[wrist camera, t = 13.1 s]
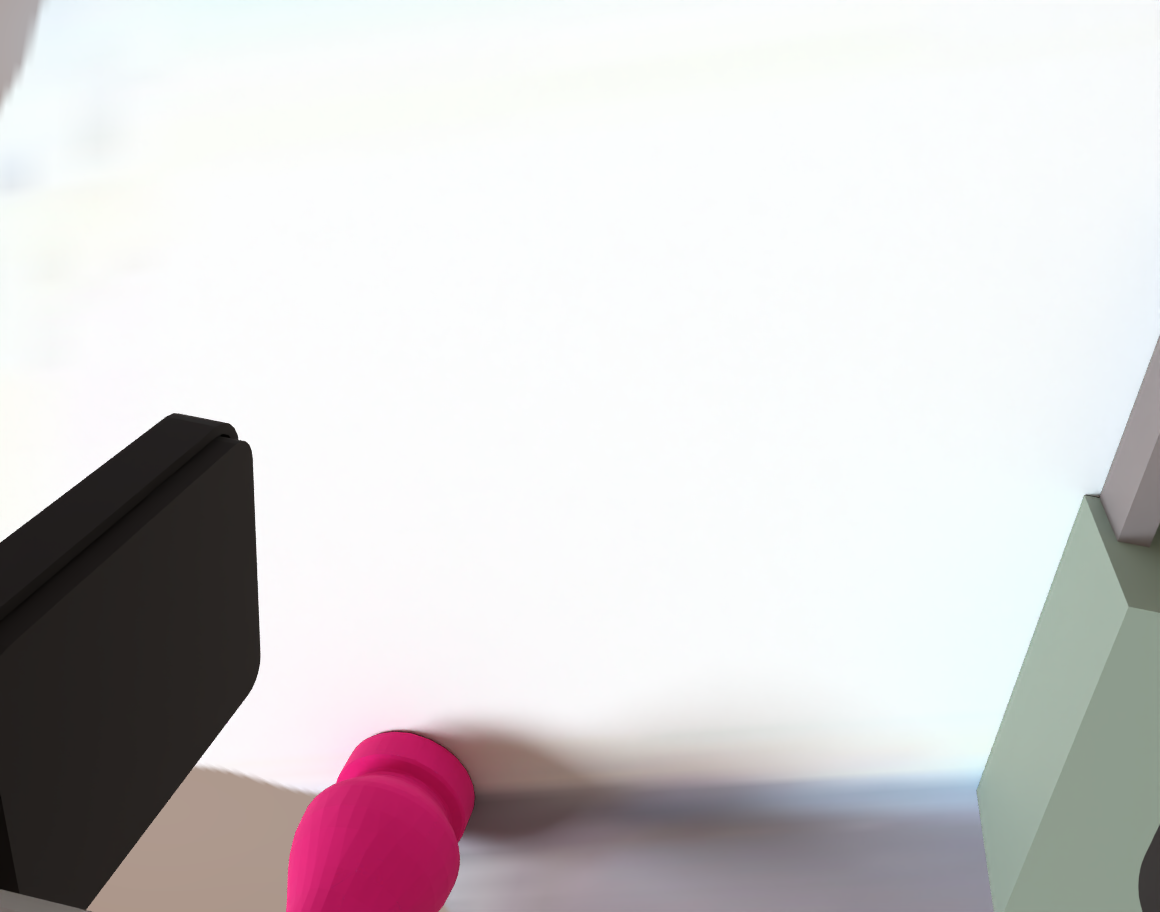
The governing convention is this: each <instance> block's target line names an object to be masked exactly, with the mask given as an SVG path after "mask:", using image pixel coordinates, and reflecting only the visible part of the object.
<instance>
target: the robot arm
mask: <svg viewBox="0 0 1160 912" xmlns="http://www.w3.org/2000/svg"><path fill="white" fill-rule="evenodd" d="M259 666H260V632H259V607H258V581H257V556H256V531H255V506H254V480H253V457H252V450H251V448H250V446H249V444H248V443H247V442H246V441H241V440H238V435H237V433H236V431H235V428H234V427H233V426H232V425H230V424H229V423H224V422H219V421H214V420H209V419H204V418H199V417H194V416H189V415H183V414H176V413H173V414H171V415H169V416H167V417H165V418H164V419H163V420H161V421H160V422H159V423H157V424H156V425H155V426H153V427H152V428H151V429H150V430H148V431H147V432H146V433H144V434H143V435H142V436H140V437H139V438H138V439H136V440H135V441H134V442H132V443H131V444H130V445H128V446H127V447H126V448H124V449H123V450H122V451H120V452H119V453H118V454H117V455H115V456H114V457H113V458H111V459H110V460H109V461H107V462H106V463H105V464H103V465H102V466H101V467H99V468H98V469H97V470H95V471H94V472H93V473H91V474H90V475H89V476H88V477H86V478H85V479H84V480H82V481H81V482H80V483H78V484H77V485H76V486H74V487H73V488H72V489H70V490H69V491H68V492H66V493H65V494H64V495H62V496H61V497H60V498H59V499H57V500H56V501H55V502H53V503H52V504H51V505H49V506H48V507H47V508H45V509H44V510H43V511H41V512H40V513H39V514H37V515H36V516H35V517H33V518H32V519H31V520H30V521H28V522H27V523H26V524H24V525H23V526H22V527H20V528H19V529H18V530H16V531H15V532H14V533H12V534H11V535H10V536H8V537H7V538H6V539H4V540H3V541H2V542H1V543H0V912H91V911H87V910H86V909H87V908H88V906H89V905H90V904H91V902H92V901H93V900H94V898H95V897H96V896H97V894H98V893H99V892H100V890H101V889H102V888H103V886H104V885H105V884H106V882H107V881H108V880H109V879H110V877H111V876H112V874H113V873H114V872H115V871H116V869H117V868H118V867H119V865H120V864H121V863H122V861H123V860H124V859H125V857H126V856H127V854H128V853H129V852H130V851H131V849H132V848H133V847H134V845H135V844H136V843H137V841H138V840H139V839H140V837H141V836H142V835H143V833H144V832H145V830H146V829H147V828H148V827H149V825H150V824H151V823H152V821H153V820H154V819H155V818H156V816H157V815H158V814H159V812H160V811H161V809H162V808H163V807H164V806H165V804H166V803H167V802H168V800H169V799H170V798H171V796H172V795H173V793H174V792H175V791H176V790H177V788H178V787H179V786H180V784H181V783H182V782H183V780H184V779H185V778H186V776H187V775H188V774H189V773H190V771H191V770H192V768H193V767H194V766H195V765H196V763H197V762H198V761H199V759H200V758H201V757H202V755H203V754H204V753H205V751H206V750H207V749H208V747H209V746H210V745H211V743H212V742H213V741H214V739H215V738H216V737H217V735H218V734H219V733H220V731H221V730H222V729H223V727H224V726H225V725H226V723H227V722H228V721H229V719H230V718H231V717H232V716H233V714H234V713H235V712H236V710H237V709H238V708H239V706H240V705H241V704H242V702H243V701H244V700H245V698H246V697H247V696H248V694H249V693H250V691H251V689H252V687H253V685H254V683H255V681H256V678H257V674H258V671H259ZM1138 891H1139V900H1140V905H1141V908H1142V912H1160V825H1159V827H1158V829H1157V831H1156V833H1155V835H1154V837H1153V839H1152V841H1151V844H1150V846H1149V848H1148V850H1147V852H1146V854H1145V856H1144V858H1143V861H1142V864H1141V868H1140V873H1139V882H1138Z"/></svg>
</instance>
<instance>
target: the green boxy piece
mask: <svg viewBox="0 0 1160 912" xmlns="http://www.w3.org/2000/svg"><path fill="white" fill-rule="evenodd" d="M977 798H978V805H979V812H980V819H981V826H982V833H983V840H984V847H985V854H986V861H987V868H988V875H989V882H990V889H991V896H992V902H993V909H994V912H1142V908H1141V905H1140V900H1139V891H1138V882H1139V873H1140V868H1141V864H1142V861H1143V858H1144V856H1145V854H1146V852H1147V850H1148V848H1149V846H1150V844H1151V841H1152V839H1153V837H1154V835H1155V833H1156V831H1157V829H1158V827H1159V825H1160V336H1159V339H1158V341H1157V344H1156V347H1155V349H1154V352H1153V355H1152V358H1151V360H1150V363H1149V366H1148V368H1147V371H1146V374H1145V376H1144V379H1143V382H1142V384H1141V387H1140V390H1139V392H1138V395H1137V398H1136V400H1135V403H1134V406H1133V409H1132V411H1131V414H1130V417H1129V419H1128V422H1127V425H1126V427H1125V430H1124V433H1123V435H1122V438H1121V441H1120V443H1119V446H1118V449H1117V451H1116V454H1115V457H1114V460H1113V462H1112V465H1111V468H1110V470H1109V473H1108V476H1107V478H1106V481H1105V484H1104V486H1103V489H1102V492H1101V494H1100V497H1099V498H1097V497H1092V496H1087V495H1084V497H1083V500H1082V503H1081V506H1080V508H1079V511H1078V514H1077V517H1076V519H1075V522H1074V525H1073V528H1072V530H1071V533H1070V536H1069V539H1068V541H1067V544H1066V547H1065V550H1064V552H1063V555H1062V558H1061V560H1060V563H1059V566H1058V569H1057V571H1056V574H1055V577H1054V580H1053V582H1052V585H1051V588H1050V591H1049V593H1048V596H1047V599H1046V602H1045V604H1044V607H1043V610H1042V613H1041V615H1040V618H1039V621H1038V624H1037V626H1036V629H1035V632H1034V634H1033V637H1032V640H1031V643H1030V645H1029V648H1028V651H1027V654H1026V656H1025V659H1024V662H1023V665H1022V667H1021V670H1020V673H1019V676H1018V678H1017V681H1016V684H1015V687H1014V689H1013V692H1012V695H1011V698H1010V700H1009V703H1008V706H1007V708H1006V711H1005V714H1004V717H1003V719H1002V722H1001V725H1000V728H999V730H998V733H997V736H996V739H995V741H994V744H993V747H992V750H991V752H990V755H989V758H988V761H987V763H986V766H985V769H984V772H983V774H982V777H981V780H980V782H979V785H978V788H977Z"/></svg>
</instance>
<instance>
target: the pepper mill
mask: <svg viewBox="0 0 1160 912" xmlns="http://www.w3.org/2000/svg"><path fill="white" fill-rule="evenodd" d="M474 799H475V794H474V788H473V784H472V781H471V779H470V777H469V775H468V772H467V771H466V769H465V768H464V767H463V765H462V764H461V763H460V762H459V760H458V759H457V758H456V757H455V756H454V755H453V754H452V753H450V752H449V751H448V750H447V749H445V748H444V747H442V746H441V745H439V744H437V743H435V742H434V741H432V740H430V739H427V738H424V737H421V736H418V735H415V734H412V733H404V732H387V733H380V734H377V735H374V736H372V737H370V738H368V739H366V740H364V741H363V742H361V743H360V744H359V745H358V746H357V747H356V748H355V750H354V751H353V752H352V754H351V756H350V757H349V759H348V761H347V763H346V764H345V766H344V768H343V769H342V771H341V773H340V775H339V777H338V779H337V782H336V784H333V785H332V786H330V787H328V788H327V789H325V790H324V791H322V792H321V793H320V794H319V795H317V796H316V797H315V798H314V800H313V801H312V802H311V803H310V804H309V806H308V807H307V809H306V811H305V813H304V815H303V817H302V819H301V822H300V824H299V826H298V828H297V830H296V832H295V836H294V840H293V843H292V848H291V852H290V858H289V867H288V888H287V908H286V912H438V911H439V910H440V909H441V908H442V906H443V905H444V903H445V901H446V899H447V898H448V896H449V894H450V892H451V890H452V888H453V886H454V884H455V882H456V879H457V876H458V871H459V866H460V854H459V846H458V842H459V840H460V839H461V837H462V835H463V833H464V830H465V828H466V826H467V823H468V821H469V818H470V816H471V813H472V811H473V808H474Z"/></svg>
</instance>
